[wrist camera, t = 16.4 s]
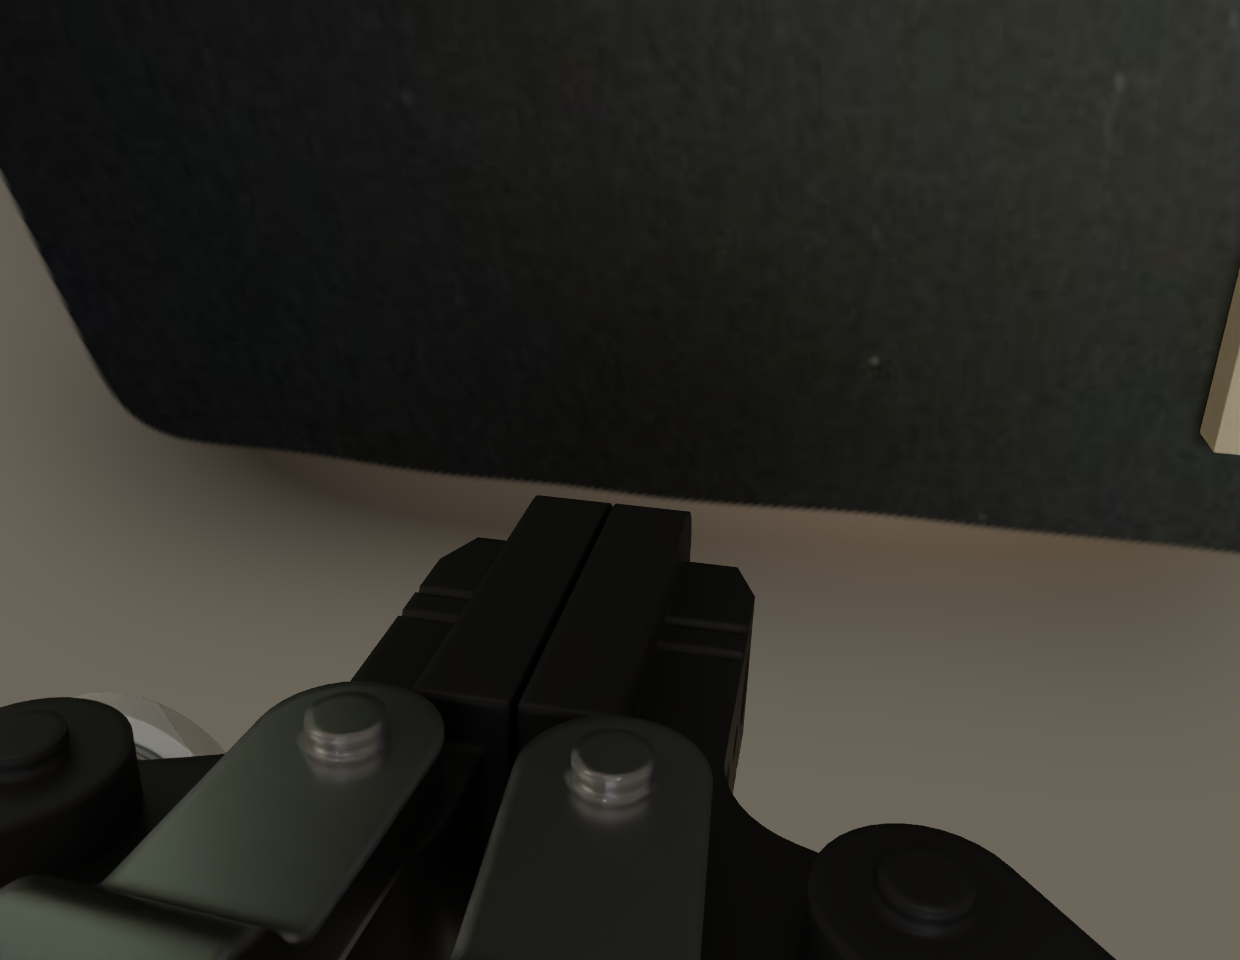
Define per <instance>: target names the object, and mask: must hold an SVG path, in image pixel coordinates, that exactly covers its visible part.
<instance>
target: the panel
mask: <svg viewBox="0 0 1240 960" xmlns="http://www.w3.org/2000/svg"><path fill="white" fill-rule="evenodd" d="M1200 434H1201V435H1202V436H1203V438H1204V439H1205V441H1206V442H1207V443H1208V445H1209V446H1210V448H1211V449H1212V450H1213V452H1215V453H1224V454H1235V455H1240V269H1239V273H1238V278H1237V282H1236V286H1235V290H1234V294H1233V298H1232V302H1231V306H1230V310H1229V315H1228V319H1227V323H1226V327H1225V331H1224V335H1223V339H1222V343H1221V347H1220V352H1219V356H1218V360H1217V364H1216V368H1215V372H1214V376H1213V380H1212V384H1211V388H1210V393H1209V397H1208V401H1207V405H1206V409H1205V413H1204V417H1203V421H1202V425H1201V430H1200Z"/></svg>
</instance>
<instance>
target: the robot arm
mask: <svg viewBox="0 0 1240 960" xmlns="http://www.w3.org/2000/svg"><path fill="white" fill-rule="evenodd" d="M690 548H691V513H690V512H687V511H678V510H669V509H660V508H650V507H642V506H633V505H623V504H615V505H614V506H613V507H612V505H611V503H603V502H594V501H585V500H576V499H567V498H557V497H549V496H539V495H538V496H536V497H535V498H534V499H533V500H532V502H531V504H530V505H529V507H528V509H527V510H526V511H525V513H524V515H523V516H522V518H521V519H520V521H519V522H518V524H517V526H516V527H515V529H514V530H513V532H512V533H511V535H510V536H509V538H508V540H507V541H504V540H496V539H487V538H479V537H478V538H476V539H475V540H473V541H471V542H469V543H467V544H466V545H464V546H462V547H460V548H458V549H457V550H455V551H453V552H451V553H450V554H448V555H446V556H444V557H442V558H441V559H440V560H439V561H438V562H437V564H436V565H435V566H434V568H433V569H432V570H431V572H430V573H429V575H428V576H427V577H426V579H425V580H424V581H423V583H422V584H421V585H420V589H419V593H417V592H415V594H414V595H413V596H412V598H411V599H410V601H409V602H408V603H407V605H406V606H405V607H404V609H403V613H402V616H398V617H397V618H396V620H395V621H394V622H393V624H392V625H391V627H390V628H389V629H388V631H387V632H386V633H385V635H384V636H383V637H382V639H381V640H380V641H379V643H378V644H377V646H376V647H375V648H374V650H373V651H372V652H371V654H370V655H369V656H368V658H367V659H366V661H365V662H364V664H363V665H362V666H361V667H360V669H359V670H358V671H357V673H356V674H355V676H354V677H353V678H352V680H351V681H350V682H340V683H334V684H328V685H323V686H319V687H315V688H311V689H308V690H306V691H303V692H300V693H298V694H295V695H293V696H291V697H289V698H287V699H285V700H283V701H281V702H280V703H278V704H277V705H275V706H274V707H272V708H271V709H270V710H268V711H267V712H266V713H265V714H264V715H263V716H262V717H260V719H258V721H257V722H256V723H255V724H254V725H253V726H252V727H251V728H250V729H249V730H248V731H247V732H246V733H245V734H244V735H243V736H242V737H241V738H240V739H239V740H238V741H237V742H236V744H235V745H234V746H233V747H232V748H231V749H230V750H229V751H228V752H227V753H226V754H220V755H208V756H194V757H179V758H164V759H163V758H162V757H160V756H159V755H157V754H156V753H154V752H152V751H150V750H149V749H147V748H145V747H143V746H140V745H138V744H136V743H135V742H134V736H133V730H132V726H131V724H130V722H129V720H128V719H127V717H126V716H124V715H123V714H122V713H121V712H120V711H119V710H117V709H115V708H114V707H112V706H110V705H107V704H104V703H102V702H99V701H95V700H89V699H84V698H71V697H58V698H45V699H36V700H29V701H25V702H20V703H15V704H11V705H8V706H4V707H1V708H0V960H1116V959H1115V958H1114V957H1112V956H1111V955H1110V954H1109V953H1108V952H1107V951H1106V950H1104V949H1103V948H1102V947H1101V946H1100V945H1099V944H1098V943H1096V942H1095V941H1094V940H1093V939H1092V938H1091V937H1090V936H1089V935H1087V934H1086V933H1085V932H1084V931H1083V930H1082V929H1080V928H1079V927H1078V926H1077V925H1076V924H1075V923H1074V922H1072V921H1071V920H1070V919H1069V918H1068V917H1067V916H1066V915H1065V914H1063V913H1062V912H1061V911H1060V910H1059V909H1058V908H1057V907H1055V906H1054V905H1053V904H1052V903H1051V902H1050V901H1049V900H1048V899H1046V898H1045V897H1044V896H1043V895H1042V894H1041V893H1040V892H1038V891H1037V890H1036V889H1035V888H1034V887H1033V886H1032V885H1030V884H1029V883H1028V882H1027V881H1026V880H1025V879H1024V878H1022V877H1021V876H1020V875H1019V874H1018V873H1017V872H1016V871H1014V870H1013V869H1012V868H1011V867H1010V866H1008V864H1006V863H1005V862H1004V861H1002V860H1001V859H1000V858H998V857H997V856H996V855H995V854H993V853H991V852H990V851H988V850H986V849H985V848H983V847H981V846H980V845H978V844H976V843H973V842H971V841H969V840H967V839H965V838H963V837H961V836H958V835H955V834H952V833H949V832H946V831H943V830H940V829H935V828H931V827H926V826H921V825H912V824H878V825H870V826H865V827H862V828H858V829H855V830H852V831H849V832H847V833H845V834H842V835H840V836H838V837H837V838H835V839H834V840H833V841H831V842H830V843H828V844H827V845H826V846H825V847H824V848H823V849H822V851H820V853H817V852H815V851H813V850H810V849H807V848H805V847H802V846H800V845H797V844H795V843H793V842H791V841H789V840H787V839H785V838H782V837H780V836H778V835H777V834H775V833H773V832H772V831H770V830H768V829H767V828H765V827H764V826H762V825H761V824H760V823H759V822H757V821H756V820H755V819H753V818H752V817H751V816H750V815H749V814H748V813H747V812H746V811H745V810H744V809H743V808H742V807H741V806H740V805H739V803H738V802H737V800H736V799H735V797H734V796H733V789H734V783H735V777H736V768H737V765H738V759H739V753H740V747H741V741H742V735H743V726H744V714H745V703H746V692H747V680H748V669H749V658H750V646H751V635H752V623H753V612H754V600H755V596H754V594H753V593H752V591H751V589H750V588H749V586H748V584H747V583H746V581H745V579H744V577H743V576H742V575H741V572H740V571H739V569H738V568H737V567H729V566H721V565H713V564H704V563H696V562H690Z"/></svg>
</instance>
